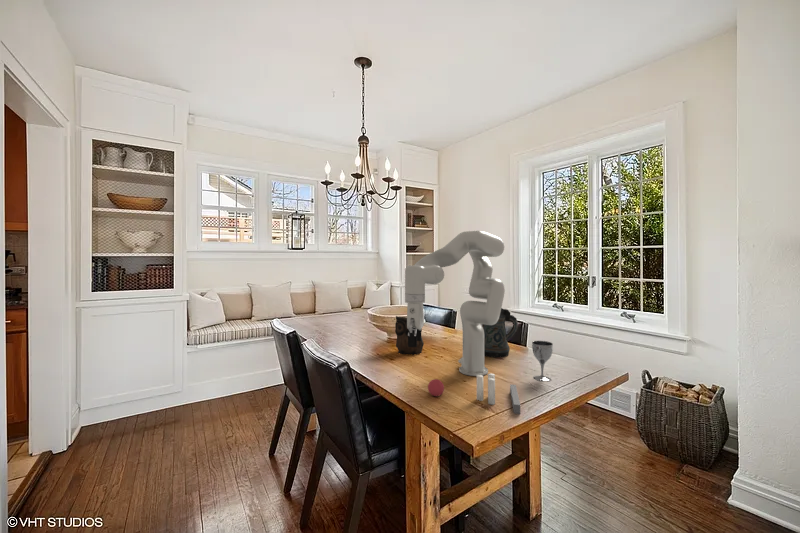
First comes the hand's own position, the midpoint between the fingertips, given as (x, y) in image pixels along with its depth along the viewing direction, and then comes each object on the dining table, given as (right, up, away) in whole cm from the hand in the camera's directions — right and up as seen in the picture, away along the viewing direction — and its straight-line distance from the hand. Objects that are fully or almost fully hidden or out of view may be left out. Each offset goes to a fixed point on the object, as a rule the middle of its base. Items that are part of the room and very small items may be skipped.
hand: (414, 343), depth 132 cm
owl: (0, -17, +57) cm, 60 cm away
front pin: (+23, -19, -5) cm, 30 cm away
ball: (+8, -16, -2) cm, 18 cm away
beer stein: (+45, -17, +53) cm, 71 cm away
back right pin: (+27, -19, -9) cm, 34 cm away
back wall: (+35, -19, -8) cm, 41 cm away
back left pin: (+28, -19, -4) cm, 34 cm away
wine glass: (+54, -18, +15) cm, 59 cm away
